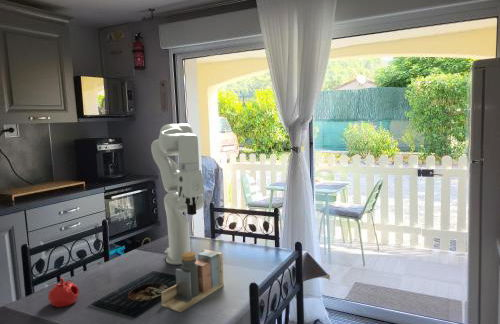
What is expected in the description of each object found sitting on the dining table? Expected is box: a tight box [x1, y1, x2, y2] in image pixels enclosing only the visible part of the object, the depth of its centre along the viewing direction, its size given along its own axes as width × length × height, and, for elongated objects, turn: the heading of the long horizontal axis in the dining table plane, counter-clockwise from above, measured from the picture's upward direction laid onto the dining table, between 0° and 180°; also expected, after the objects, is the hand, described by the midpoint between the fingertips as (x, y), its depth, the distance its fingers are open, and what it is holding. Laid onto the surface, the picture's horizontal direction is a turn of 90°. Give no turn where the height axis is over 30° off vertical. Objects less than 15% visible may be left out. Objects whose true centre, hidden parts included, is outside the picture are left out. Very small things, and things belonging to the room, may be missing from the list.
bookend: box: [174, 268, 192, 302], centre depth 132 cm, size 6×2×10 cm, turn 56°
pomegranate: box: [47, 277, 80, 308], centre depth 135 cm, size 10×10×9 cm
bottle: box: [180, 251, 199, 298], centre depth 136 cm, size 6×6×15 cm
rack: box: [160, 248, 225, 313], centre depth 137 cm, size 9×23×13 cm, turn 146°
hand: (191, 214), depth 146 cm, fingers closed
